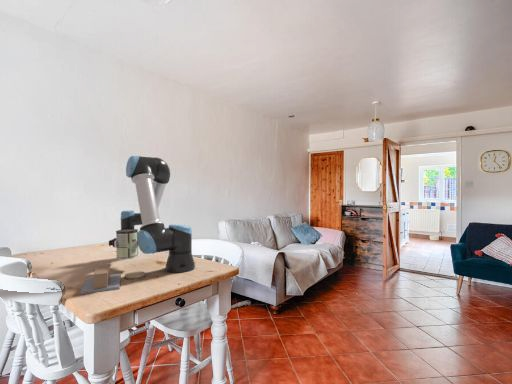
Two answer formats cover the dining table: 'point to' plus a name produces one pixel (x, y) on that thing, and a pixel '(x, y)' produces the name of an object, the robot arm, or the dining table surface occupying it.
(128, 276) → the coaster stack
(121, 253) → the coffee can
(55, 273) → the dining table surface
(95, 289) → the fulcrum board
